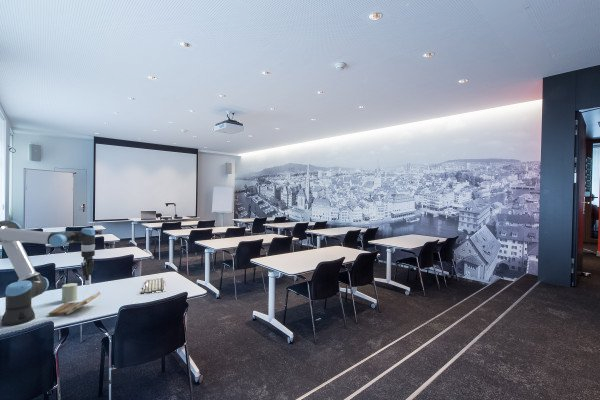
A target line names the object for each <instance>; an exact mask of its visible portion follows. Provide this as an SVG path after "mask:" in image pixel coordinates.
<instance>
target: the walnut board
mask: <svg viewBox="0 0 600 400" xmlns="http://www.w3.org/2000/svg"><path fill="white" fill-rule="evenodd" d="M80 302H81V301H77V302H75V301H72V302H64V303H63V304H61V305H60V306H58V307H56V308H55V309H53V310H51V311H50V312H49V313H48V316H49V317H57V316H59V317H60V316H61V317H62V316H66V315H67V314H66V311H68V310H69V309H71V308H72V307H74V306H75V305H77V304H78V303H80Z"/></svg>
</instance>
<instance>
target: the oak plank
mask: <svg viewBox="0 0 600 400" xmlns="http://www.w3.org/2000/svg"><path fill="white" fill-rule="evenodd" d="M101 294H102V293H101V292H100V291H98V292H96V293H94V294H93V295H91V296H89V297H87V298H86V299H84V300H82V301H79V302H80V303H78V304H77V305H75V306H74V307H72V308H71V309H69V310H68V311H66V315H69V314H71V313H73V312H74V311H76V310H78V309H80V308H81V307H83V306H86V305H87V304H89V303H90V302H92V301H93V300H94V299H96V298H98V297H99V296H100V295H101Z"/></svg>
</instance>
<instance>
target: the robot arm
mask: <svg viewBox="0 0 600 400" xmlns="http://www.w3.org/2000/svg"><path fill="white" fill-rule="evenodd" d="M95 240H96V231H95V228H94V227H84V228H83V227H82V229H81V230H79V231H77V230H76V231H71V230H67V231H62V232H61V233H58V232H50V231H42V230H41V231H40V230H39V231H38V230H30V229H23V228H22V226H21V225H20V224H19V222H17V221H15V220H0V246H2V248H3V249H4V251H5V254H6V255H7V257H8V260H9V261H10V263H11V265H12V268H13V269H14V271H15V273H16V275H17V277H18V280H17V281H15V282H12V283H10V284H8V285H7V286H6V288H5V291H4V294H5V310H4V313H3V316H2V318H1V320H0V325H1V326H3V327H4V326H6V327H7V326H8V327H9V326H18V325H22V324H25V323H28V322H30V321H33V320H34V319H36V313H35V311H34V309H33V306H32V299H33V298H36V297H38V296H40V295H42V294H44V293H45V292H46V291H47V290H48V288H49V285H50V282H49V280H48V278H47V277H44V276H42V275H41V273H40V272H37V271H36V269H35V267H34V266H33V263H32V262H31V260H30V258H29V256H28V254H27V251H26V250H25V248H24V246H23V243H32V244H39V245H40V244H42V245H51V246H53V247H62V246H64V245H68V244H71V243H81V244H80V247H81V248H80V250H81V252H80V254H81V255H80V256H81V257H82V258H83V260H82V262H81V263H80V264H81V268H82V269H81V270H82V275H83V277H84V279H85V281H84V283H85V284H84V285H85V286H90V285H91V284H92V282H91V281H92V276H91V275H93V272H94V263H95V258H93V257H95V255H96V254H95V253H96V251H95V249H96V244H95V243H96V241H95ZM22 242H23V243H22Z"/></svg>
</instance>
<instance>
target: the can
mask: <svg viewBox="0 0 600 400" xmlns="http://www.w3.org/2000/svg"><path fill="white" fill-rule="evenodd" d="M61 289H62V290H61V303H73V302H75V301H77V300H78V283H76V282H75V283H74V282H71V283H70V282H69V283H65V284H63V285H61Z"/></svg>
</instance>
